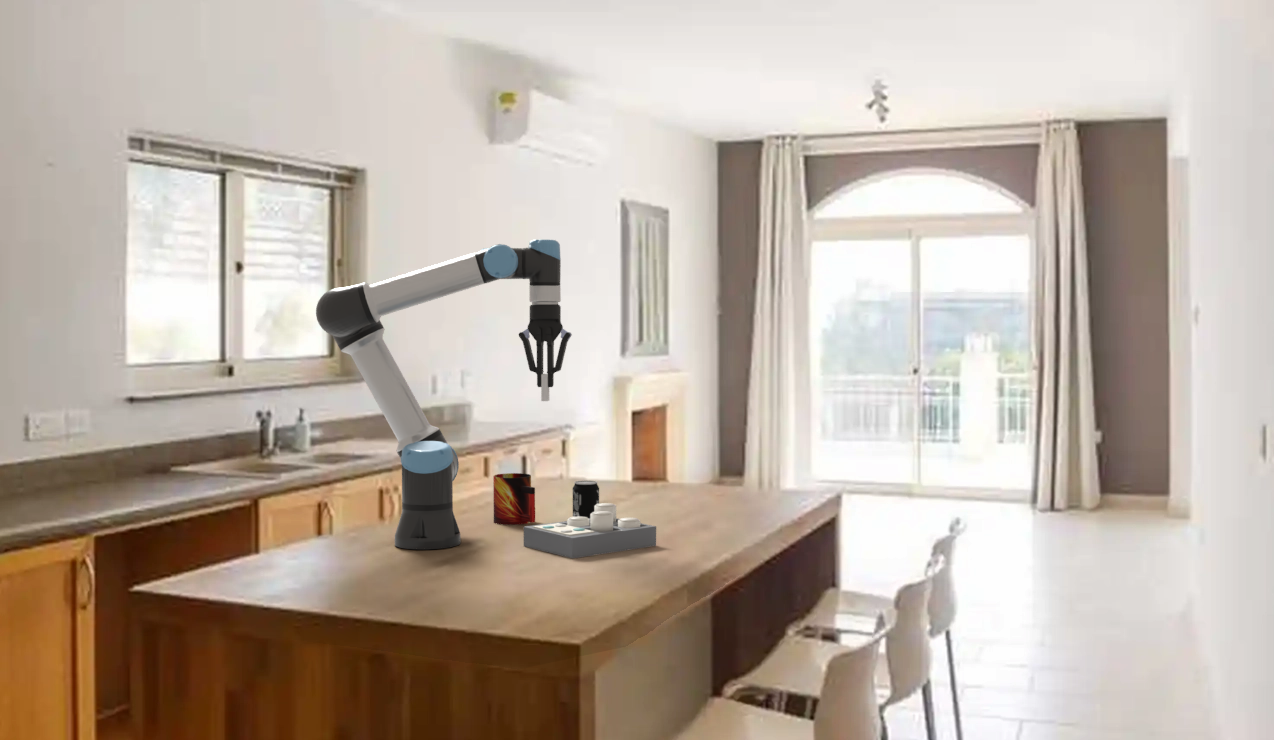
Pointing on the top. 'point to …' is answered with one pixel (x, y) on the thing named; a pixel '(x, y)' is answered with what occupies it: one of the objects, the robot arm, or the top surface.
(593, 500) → the beverage can
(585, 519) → the button
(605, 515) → the button
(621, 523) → the button
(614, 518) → the button
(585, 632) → the top surface
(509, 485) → the mug
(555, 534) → the board
